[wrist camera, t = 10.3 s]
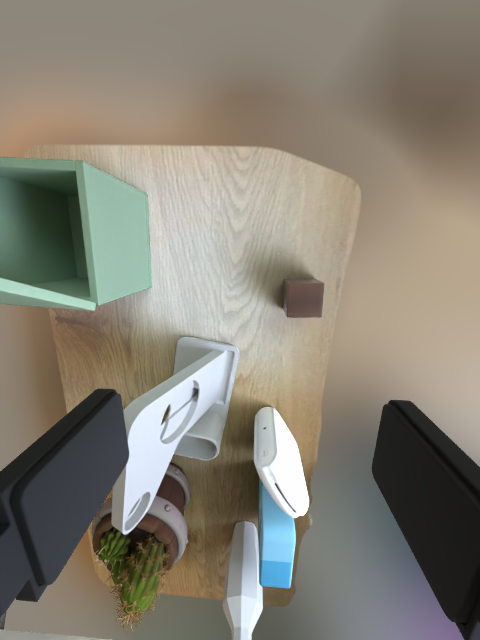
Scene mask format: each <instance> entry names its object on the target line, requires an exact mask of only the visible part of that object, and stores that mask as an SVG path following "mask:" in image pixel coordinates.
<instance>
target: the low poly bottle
mask: <svg viewBox="0 0 480 640" xmlns="http://www.w3.org/2000/svg"><path fill="white" fill-rule="evenodd" d="M223 609H224V612H225V615H226V618H227V620H228V623H229V625H230V628H231V631H232V640H251V633H252V631H253V629H254V627H255V625H256V622H257V620H258V618H259V616H260V614H261V612H262V610H263V600H262V586H260V584H259V544H258V535H257V529H256V527H255V525H254V523H251V522H248V521H241V522H237V523H236V525H235V527H234V531H233V537H232V542H231V548H230V553H229V558H228V564H227V569H226V576H225V587H224V598H223Z"/></svg>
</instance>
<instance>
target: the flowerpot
mask: <svg viewBox="0 0 480 640" xmlns="http://www.w3.org/2000/svg"><path fill="white" fill-rule="evenodd" d="M190 497H191V494H190V487H189V483H188V481H187V479H186V477H185V474H184V472H183V471H182V469H181V468H180V467H179V466H177V465H176V464H174V463H172V462H170V463H169V465H168V468H167V470H166V472H165V475H164V477H163V479H162V481H161V484H160V486H159V488H158V490H157V493H156V495H155V497H154V500H153V502H152V504H151V506H150V508H149V510H148V511H147V513H146V514H145V516H144V517H143V518H142V519H141V520H140V522H139V523H138V524H137V525H136V527H135V528H134V529H133V530H132V531H131V532H129V533H128V534H123V533H121V532H120V531H119V530H118V529H116V528H115V527H114V526H113V525H112V523H111V521H112V498H110V499H109V500H107V501H106V502H105V503H104V504H103V505H102V507H101V508H100V509H99V511H98V513H97V515H96V516H95V519H94V521H93V524H92V536H93V548H94V552H95V554H96V555H98V556H99V558H98V559H99V560H103V563H104V564H105V565H104V566H106V567H107V569H108V570H109V571H110V573H112V579H113V581H114V583H115V585H117V586H115V587H116V588H118V587H119V588H118V590H117V589H116V588H115V589H114V590H116V591H118V592H117V593H118V594H116V595H118V597H120V600H121V603H122V604H120V605H122V606H119V607H122V608H121V610H122V611H121V610H119V609H116V610H118V611H121V614H120V615H121V618H120V619H125V618H126V619H125V621H126V620H127V623H128V620H129V622H130V625H131V621H132V620H133V621H134V620H135V619H137V621H139V620H140V618H139V617H138V616H139V614H140V613H142V612H143V611H144V610H146V609H148V608H149V609H148V610H149V612H150V609H151V608H152V606H153V607H154V605H152V603H153V602H155V601H153V602H152V600H153V598H154V597H155V594H158V593H157V592H160V591H161V589H160V588H161V587H160V586H161V584H160V586H159V583H160V582H161V581H160V579H161V578H160V577H161V576H163V577H164V575H165V573H166V572H167V570H170V569H171V568H172V566H173V565H174V564H175V563H176V562H177V561H178V560H179V559H180V558H181V556H182V554H183V552H184V550H185V547H186V545H187V544H188V539H187V525H186V522H185V519H184V509H185V508H186V507H187V505H188V503H189V498H190ZM95 554H94V555H95ZM98 559H97V560H98ZM97 560H95V561H97ZM93 562H94V561H93ZM103 563H102V564H103ZM102 564H101V565H102ZM101 565H99V566H101ZM97 567H98V566H97ZM106 567H105V568H106ZM104 572H105V571H104ZM167 575H168V574H167ZM110 577H111V576H110ZM110 577H109V578H110ZM109 578H108V579H109ZM159 581H160V582H159ZM162 585H163V584H162ZM110 586H111V585H110ZM121 586H122V588H121ZM112 588H114V587H112ZM159 590H160V591H159ZM162 591H163V590H162ZM162 591H161V592H162ZM164 592H165V591H164ZM118 597H117V598H118ZM118 604H119V603H118ZM153 609H154V608H153ZM124 612H125V613H126V614H125V613H124ZM122 613H124V614H125V615H123V614H122ZM142 614H145V613H142ZM122 615H123V616H124V617H123V618H122ZM132 616H133V618H134V619H132V620H131V618H132ZM140 616H141V614H140ZM119 617H120V616H119ZM141 617H142V616H141ZM138 618H139V620H138ZM118 619H119V618H118ZM120 619H119V620H120ZM125 621H124V622H123V623H125ZM134 622H136V621H134ZM123 623H122V624H123ZM139 623H140V622H139ZM140 624H141V623H140ZM128 625H129V624H128ZM136 625H137V623H136ZM119 626H121V625H119ZM119 626H118V627H119ZM131 630H132V625H131ZM132 632H133V630H132ZM126 633H127V625H126Z"/></svg>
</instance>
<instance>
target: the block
mask: <svg viewBox="0 0 480 640" xmlns="http://www.w3.org/2000/svg"><path fill="white" fill-rule="evenodd" d="M323 295H324V283H323V282H321V281H319V280H317V279H284V299H283V310H284V312H285V314H286V316H287V317H322V307H323Z"/></svg>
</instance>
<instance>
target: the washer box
mask: <svg viewBox="0 0 480 640" xmlns="http://www.w3.org/2000/svg"><path fill="white" fill-rule="evenodd" d="M0 278H4V279H8V280H11V281H15V282H19V283H23V284H27V285H30V286H34V287H38V288H42V289H45V290H49V291H53V292H57V293H60V294H64V295H68V296H72V297H75V298H79V299H83V300H87V301H90V302H94V303H96V306H99V305H102V304H105V303H108V302H111V301H113V300H116V299H119V298H122V297H125V296H128V295H130V294H133V293H136V292H139V291H142V290H145V289H147V288H150V287H152V283H151V260H150V237H149V214H148V195H147V194H146V193H144V192H142V191H140V190H138V189H136V188H134V187H132V186H130V185H128V184H126V183H125V182H123V181H121V180H119V179H117V178H115V177H113V176H111V175H109V174H107V173H105V172H103V171H101V170H100V169H98V168H96V167H94V166H92V165H90V164H88V163H86V162H84V161H74V160H55V159H34V158H12V157H0Z"/></svg>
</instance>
